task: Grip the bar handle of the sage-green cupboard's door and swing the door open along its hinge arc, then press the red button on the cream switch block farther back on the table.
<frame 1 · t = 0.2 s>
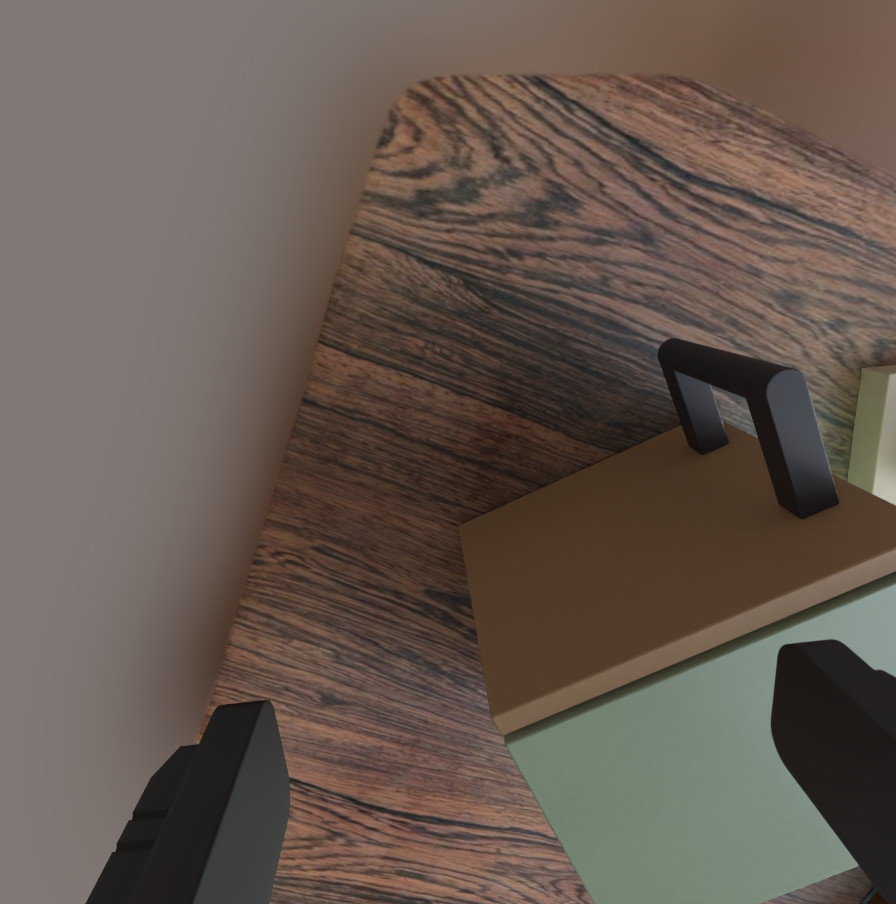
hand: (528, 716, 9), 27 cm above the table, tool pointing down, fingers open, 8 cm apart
cupboard: (620, 567, 39), on the table
cupboard door: (607, 480, 27), point 8 cm above the table, hinge at 0.0°
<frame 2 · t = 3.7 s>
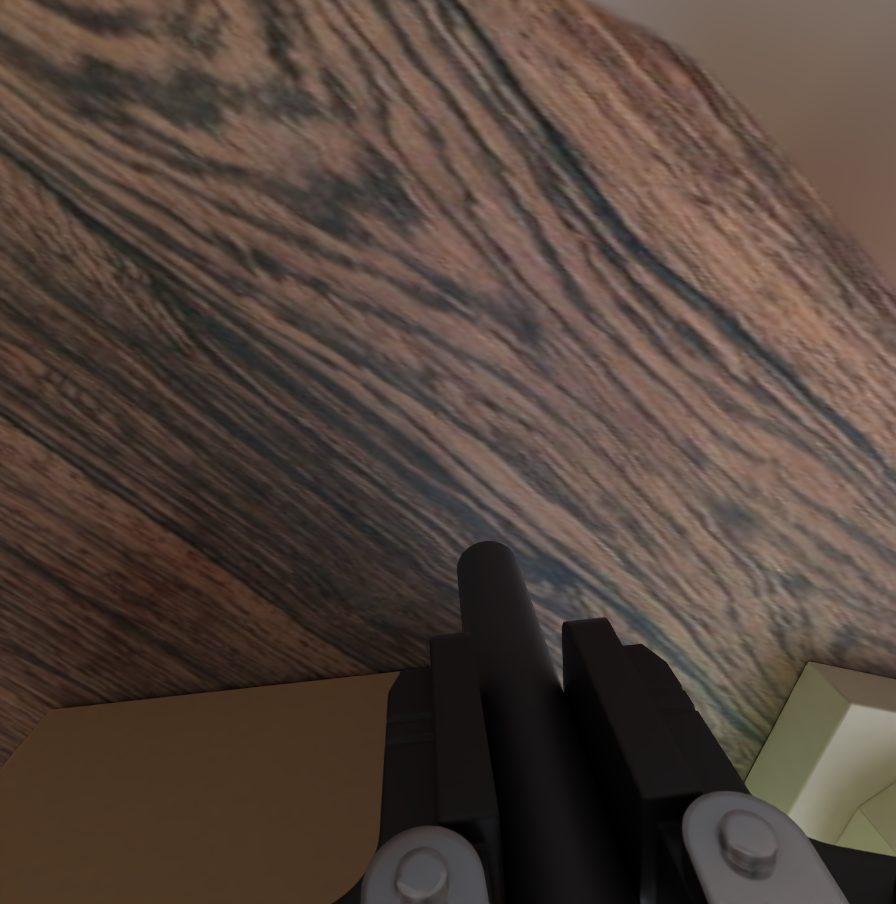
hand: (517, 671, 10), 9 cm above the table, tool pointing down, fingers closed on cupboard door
switch block: (885, 790, 23), on the table
cupboard door: (192, 862, 11), point 9 cm above the table, hinge at 0.0°, touching gripper
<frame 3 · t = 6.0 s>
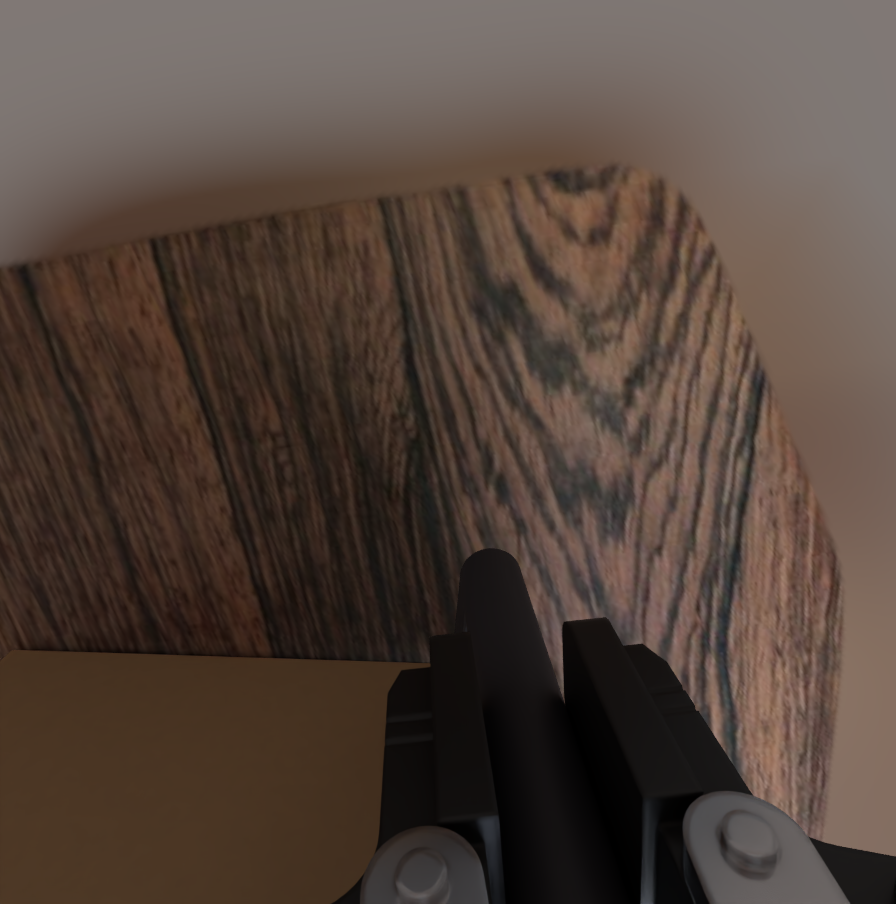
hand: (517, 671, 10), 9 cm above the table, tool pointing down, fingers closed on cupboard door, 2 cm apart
cupboard door: (166, 828, 11), point 9 cm above the table, hinge at 31.0°, touching gripper
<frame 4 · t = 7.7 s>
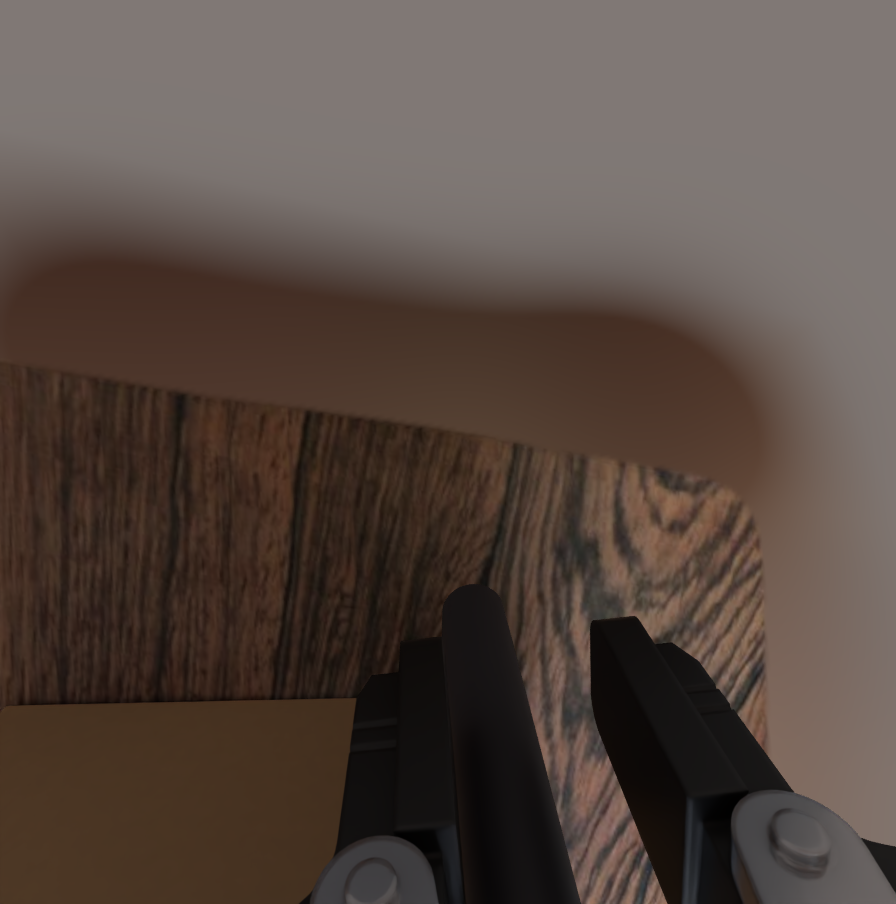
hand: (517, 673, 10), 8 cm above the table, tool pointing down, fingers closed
cupboard door: (146, 898, 11), point 8 cm above the table, hinge at 54.0°
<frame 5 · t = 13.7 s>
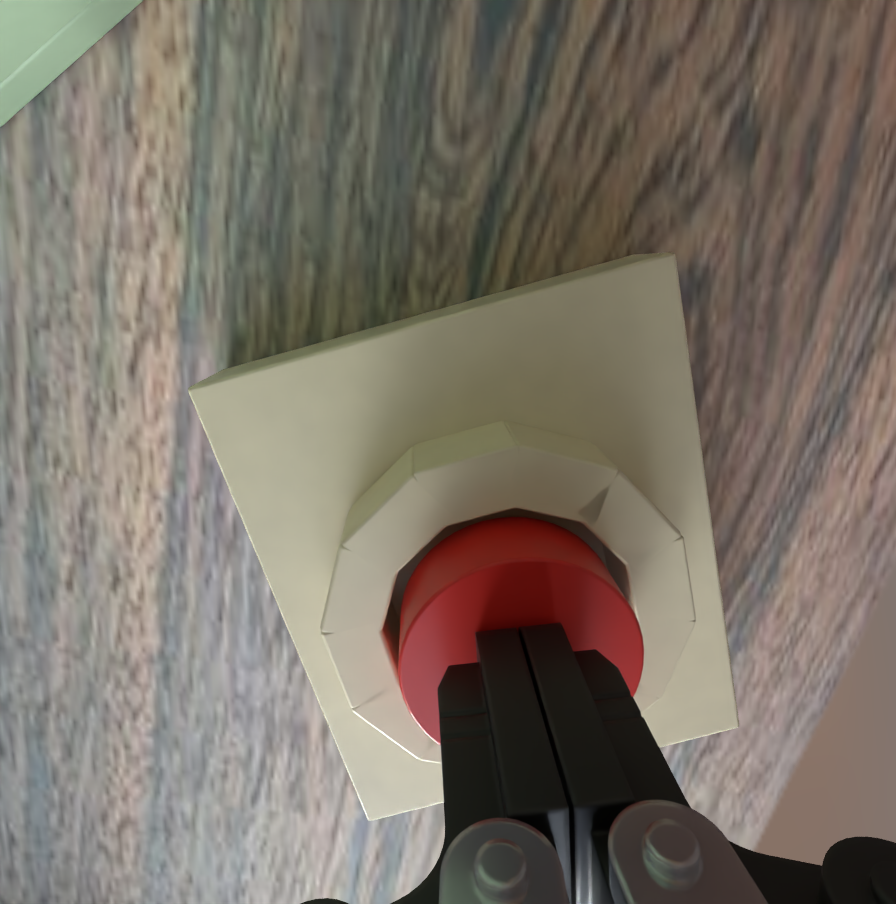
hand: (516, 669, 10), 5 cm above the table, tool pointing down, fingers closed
switch block: (487, 537, 15), on the table
button: (514, 639, 11), point 4 cm above the table, slide at 0.0 cm, touching gripper
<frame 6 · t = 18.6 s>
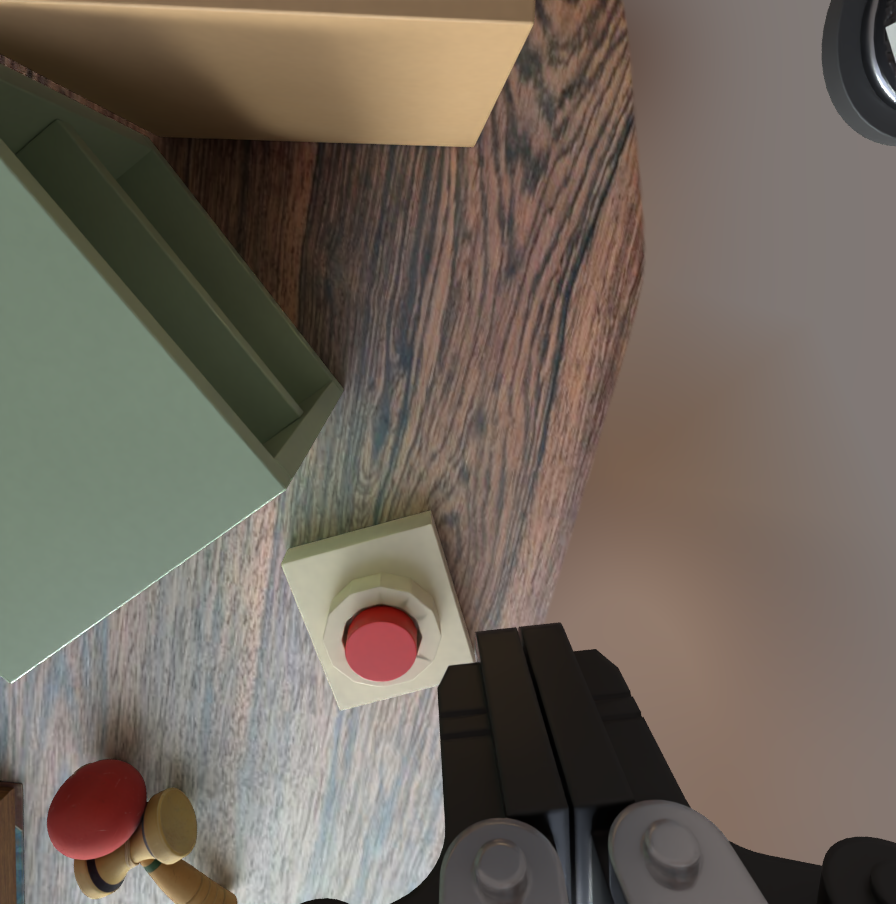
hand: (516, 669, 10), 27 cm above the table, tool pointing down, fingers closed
switch block: (385, 604, 40), on the table
cupboard: (168, 338, 34), on the table
kendama: (168, 822, 45), on the table
button: (381, 643, 36), point 4 cm above the table, slide at 0.1 cm
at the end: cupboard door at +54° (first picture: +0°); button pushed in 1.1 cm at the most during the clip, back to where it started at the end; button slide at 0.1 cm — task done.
